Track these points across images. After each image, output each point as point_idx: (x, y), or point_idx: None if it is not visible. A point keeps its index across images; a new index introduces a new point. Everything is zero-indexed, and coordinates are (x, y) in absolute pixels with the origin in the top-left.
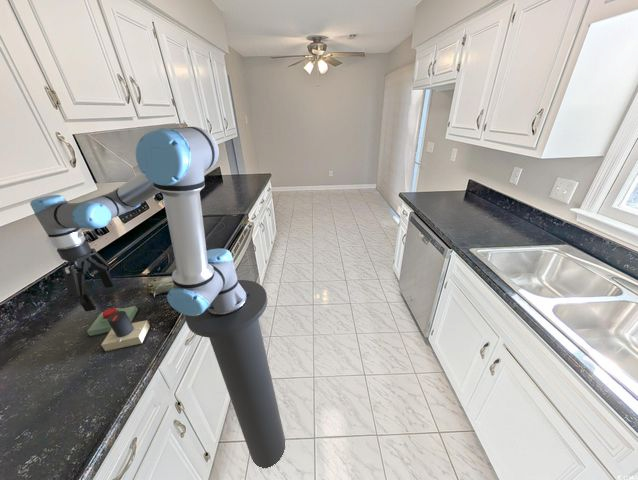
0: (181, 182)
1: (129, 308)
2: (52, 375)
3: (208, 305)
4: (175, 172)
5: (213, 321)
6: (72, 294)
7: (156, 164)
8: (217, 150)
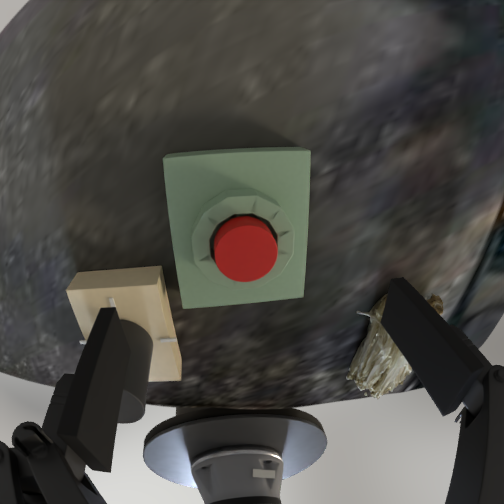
0: None
1: (293, 278)
2: (2, 154)
3: None
4: None
5: (176, 456)
6: (15, 476)
7: None
8: None
